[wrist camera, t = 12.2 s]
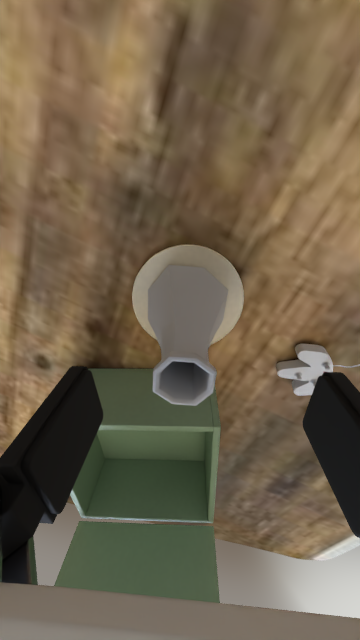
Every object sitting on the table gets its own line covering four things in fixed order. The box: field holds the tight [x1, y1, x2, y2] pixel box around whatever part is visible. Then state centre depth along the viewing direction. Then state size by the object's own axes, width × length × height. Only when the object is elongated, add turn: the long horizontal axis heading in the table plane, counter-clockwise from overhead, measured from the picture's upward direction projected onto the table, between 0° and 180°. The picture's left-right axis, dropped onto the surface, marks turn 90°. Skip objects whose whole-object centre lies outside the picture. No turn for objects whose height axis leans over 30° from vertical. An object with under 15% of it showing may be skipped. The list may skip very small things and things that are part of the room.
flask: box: [148, 265, 228, 406], centre depth 15 cm, size 7×7×10 cm
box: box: [70, 369, 221, 523], centre depth 24 cm, size 16×15×7 cm
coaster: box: [132, 244, 244, 345], centre depth 20 cm, size 10×10×1 cm
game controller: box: [276, 344, 360, 396], centre depth 21 cm, size 6×12×3 cm, turn 117°
